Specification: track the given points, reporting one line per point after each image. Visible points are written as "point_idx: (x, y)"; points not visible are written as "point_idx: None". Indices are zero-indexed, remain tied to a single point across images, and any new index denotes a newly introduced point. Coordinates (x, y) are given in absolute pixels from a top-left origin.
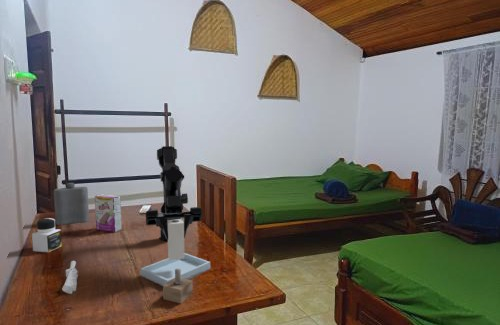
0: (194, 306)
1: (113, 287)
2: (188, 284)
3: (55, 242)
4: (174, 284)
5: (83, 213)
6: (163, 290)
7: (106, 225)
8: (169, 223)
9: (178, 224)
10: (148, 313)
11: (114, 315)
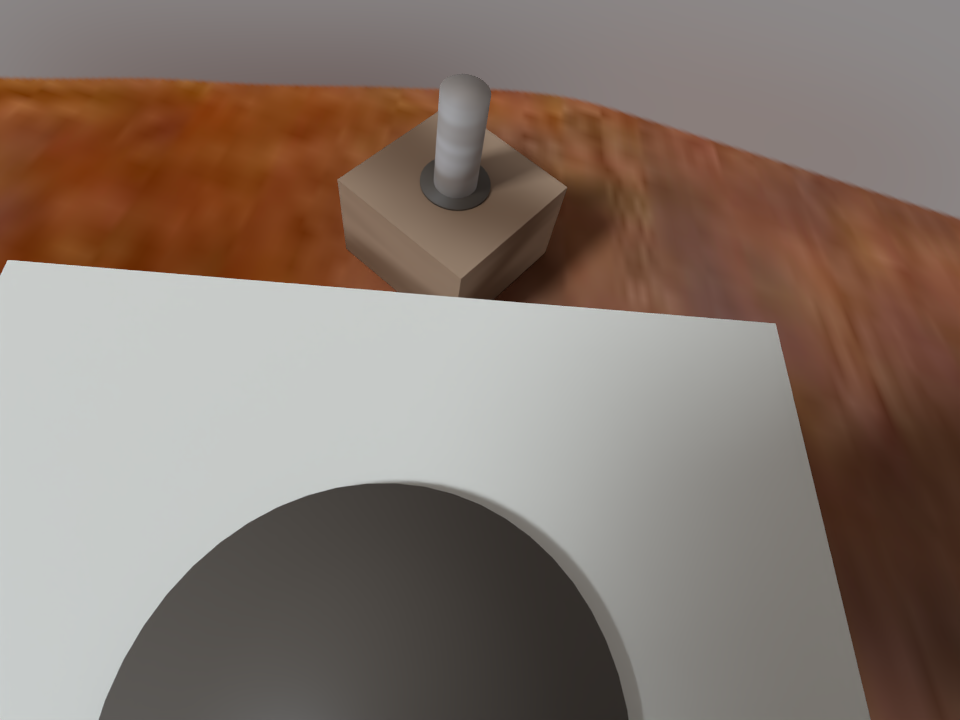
0: (375, 131)
1: (931, 537)
2: (382, 152)
3: None
4: (484, 169)
5: None
6: (556, 210)
7: None
8: (726, 415)
9: (299, 318)
10: (622, 157)
11: (792, 197)
